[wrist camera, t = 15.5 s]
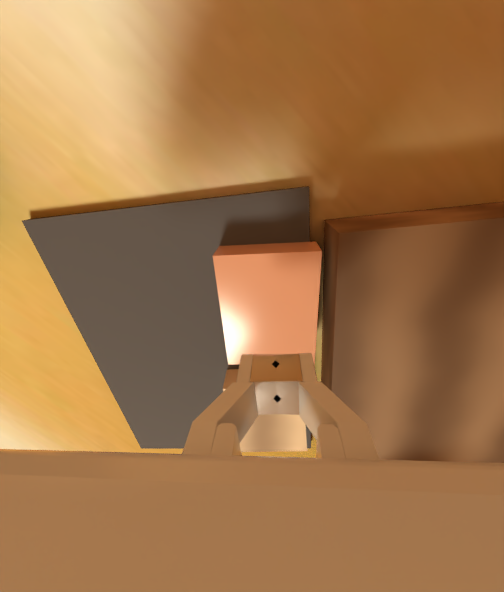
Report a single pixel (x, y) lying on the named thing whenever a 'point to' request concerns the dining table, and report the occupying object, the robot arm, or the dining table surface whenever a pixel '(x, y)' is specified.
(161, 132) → the dining table surface
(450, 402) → the walnut board
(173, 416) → the mat
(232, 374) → the tan rectangular block
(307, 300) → the tilted orange prism
